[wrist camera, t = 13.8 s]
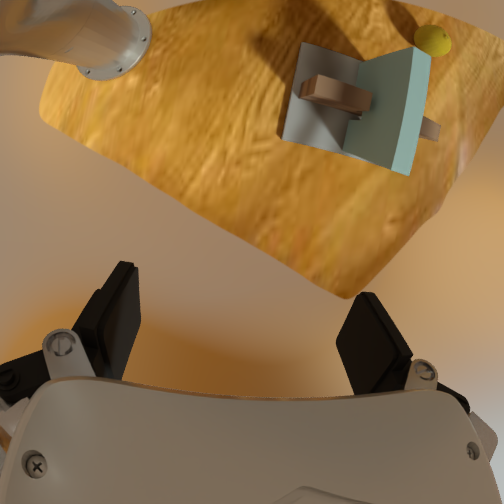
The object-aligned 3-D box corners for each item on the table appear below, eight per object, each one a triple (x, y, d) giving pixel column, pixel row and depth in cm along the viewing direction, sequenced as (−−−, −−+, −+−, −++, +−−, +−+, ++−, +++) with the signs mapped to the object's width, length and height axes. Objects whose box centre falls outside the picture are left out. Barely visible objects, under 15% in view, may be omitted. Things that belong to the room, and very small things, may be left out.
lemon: (415, 62, 30) (445, 57, 23) (399, 32, 28) (427, 22, 21) (435, 55, 29) (465, 51, 22) (420, 27, 27) (449, 19, 20)
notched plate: (359, 63, 30) (413, 46, 18) (374, 68, 31) (431, 56, 18) (342, 150, 36) (391, 170, 24) (356, 154, 37) (408, 176, 24)
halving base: (281, 139, 36) (293, 145, 28) (300, 43, 30) (318, 25, 22) (398, 172, 39) (431, 186, 31) (417, 88, 32) (452, 88, 24)
